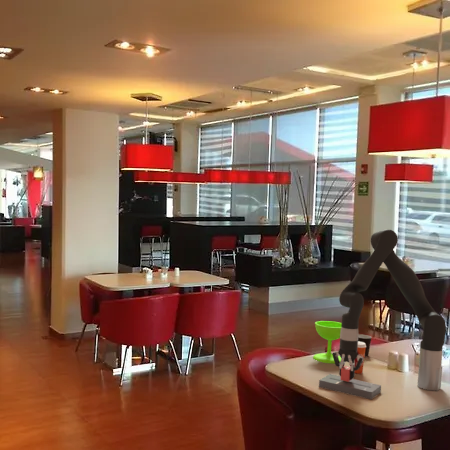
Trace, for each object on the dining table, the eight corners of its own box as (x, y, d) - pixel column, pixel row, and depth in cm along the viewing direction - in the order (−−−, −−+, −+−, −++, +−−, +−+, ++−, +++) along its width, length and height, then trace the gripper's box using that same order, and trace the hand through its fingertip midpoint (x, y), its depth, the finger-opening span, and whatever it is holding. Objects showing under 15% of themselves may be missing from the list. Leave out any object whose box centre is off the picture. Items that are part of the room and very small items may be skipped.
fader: (352, 380, 239) (353, 367, 239) (348, 383, 235) (349, 369, 235) (344, 378, 241) (345, 365, 241) (340, 381, 237) (341, 368, 237)
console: (380, 392, 236) (381, 385, 236) (371, 399, 226) (372, 392, 226) (329, 380, 248) (330, 373, 248) (318, 387, 238) (319, 379, 238)
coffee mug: (358, 351, 303) (359, 333, 303) (373, 355, 298) (374, 336, 298) (348, 355, 294) (349, 336, 294) (363, 359, 289) (364, 340, 289)
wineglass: (342, 365, 275) (344, 329, 274) (310, 360, 280) (312, 325, 279) (346, 357, 290) (348, 323, 289) (315, 353, 295) (317, 319, 294)
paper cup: (360, 375, 259) (362, 345, 259) (345, 371, 264) (347, 342, 263) (367, 372, 265) (369, 343, 265) (352, 368, 270) (354, 339, 269)
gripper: (368, 339, 237) (365, 379, 237) (336, 333, 244) (334, 372, 245) (362, 342, 230) (359, 383, 231) (330, 336, 238) (327, 376, 239)
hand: (346, 377), depth 238 cm, fingers closed on fader, 3 cm apart
